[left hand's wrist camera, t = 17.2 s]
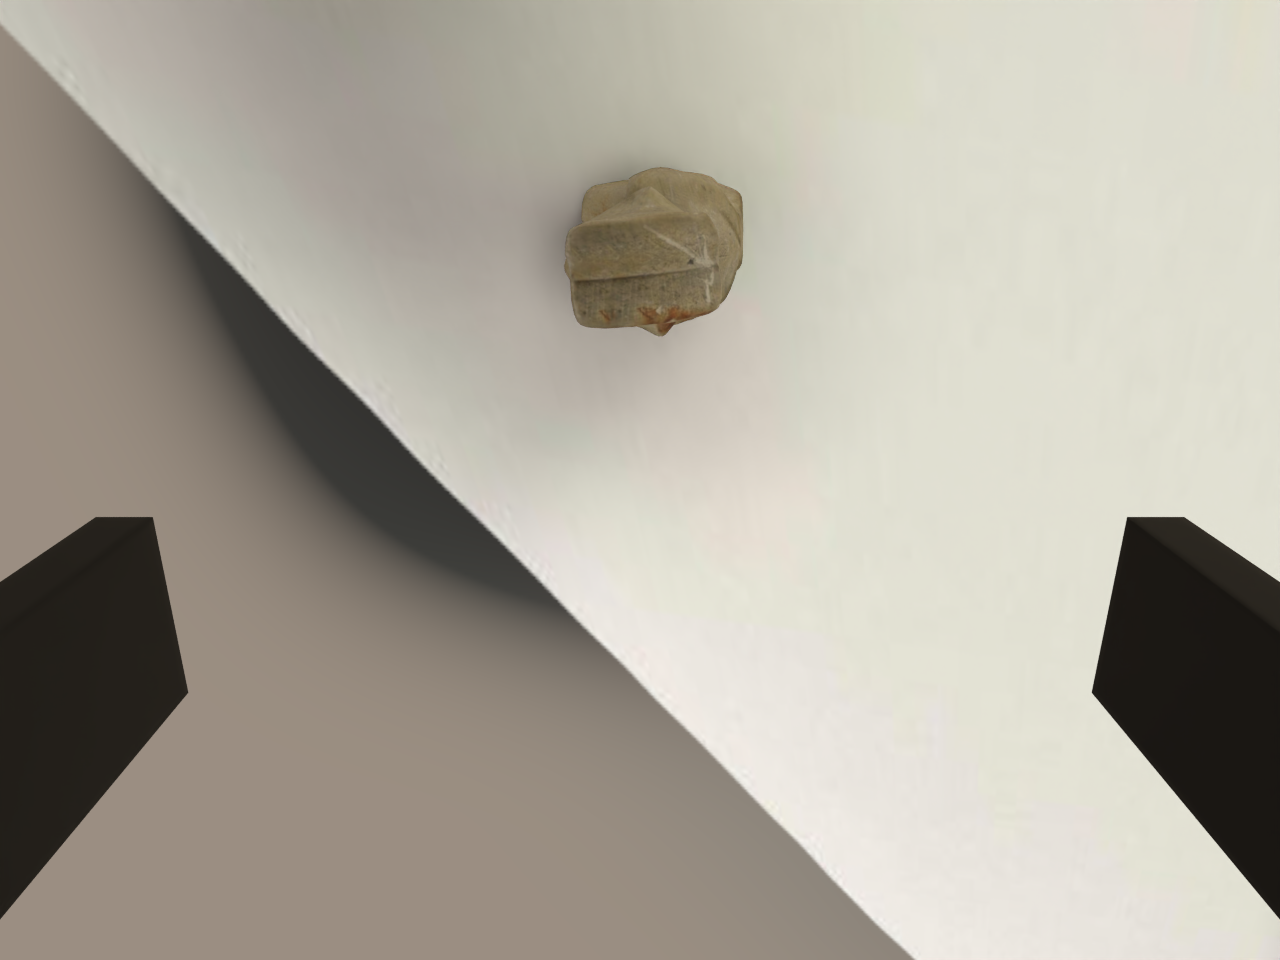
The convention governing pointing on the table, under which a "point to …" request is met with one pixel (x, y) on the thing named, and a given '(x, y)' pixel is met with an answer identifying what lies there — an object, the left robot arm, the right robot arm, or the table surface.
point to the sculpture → (654, 250)
